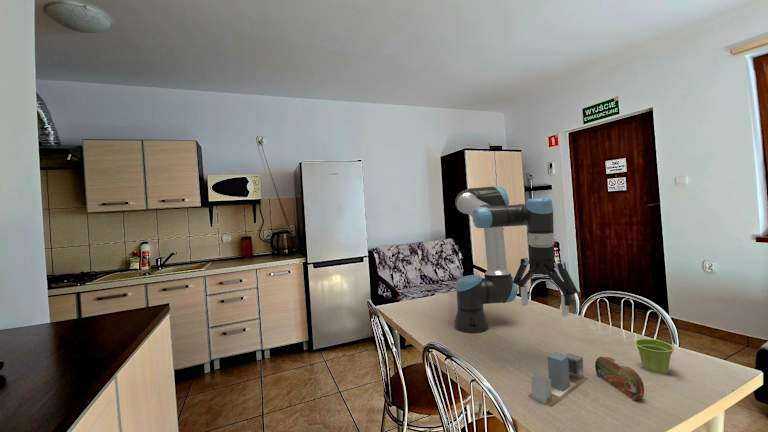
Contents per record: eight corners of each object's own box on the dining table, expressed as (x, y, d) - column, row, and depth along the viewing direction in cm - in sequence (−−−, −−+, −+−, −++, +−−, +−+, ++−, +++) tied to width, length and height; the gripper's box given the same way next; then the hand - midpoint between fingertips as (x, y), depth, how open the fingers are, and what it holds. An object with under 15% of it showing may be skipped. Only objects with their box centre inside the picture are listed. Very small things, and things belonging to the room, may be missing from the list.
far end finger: (564, 375, 101) (563, 356, 101) (570, 371, 103) (569, 353, 103) (578, 380, 98) (577, 361, 98) (583, 376, 100) (582, 357, 100)
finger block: (549, 386, 96) (547, 356, 96) (557, 380, 99) (555, 351, 98) (563, 391, 93) (561, 360, 92) (571, 385, 95) (569, 355, 95)
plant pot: (678, 382, 96) (677, 353, 96) (638, 375, 101) (637, 347, 101) (671, 368, 104) (670, 341, 103) (634, 362, 109) (633, 336, 108)
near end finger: (532, 398, 91) (531, 377, 91) (539, 393, 93) (538, 372, 93) (546, 404, 87) (545, 382, 87) (553, 399, 89) (551, 378, 89)
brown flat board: (527, 400, 92) (527, 395, 92) (565, 373, 104) (565, 369, 104) (552, 411, 86) (551, 406, 86) (589, 382, 99) (589, 377, 99)
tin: (594, 378, 101) (593, 352, 100) (604, 377, 101) (602, 351, 101) (636, 407, 86) (634, 376, 85) (647, 406, 86) (645, 375, 86)
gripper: (500, 244, 113) (503, 303, 114) (576, 250, 92) (579, 323, 93) (513, 241, 117) (516, 299, 118) (588, 247, 97) (590, 316, 98)
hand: (544, 309), depth 106 cm, fingers open, 13 cm apart
